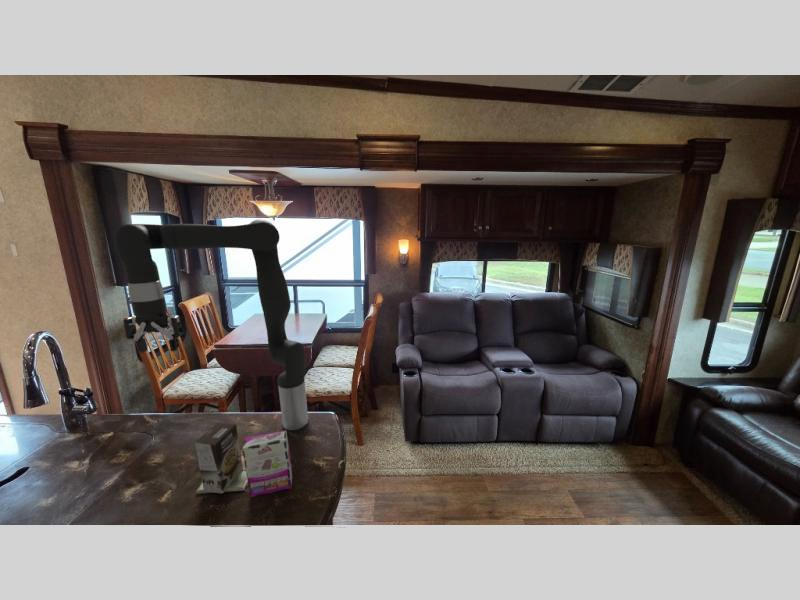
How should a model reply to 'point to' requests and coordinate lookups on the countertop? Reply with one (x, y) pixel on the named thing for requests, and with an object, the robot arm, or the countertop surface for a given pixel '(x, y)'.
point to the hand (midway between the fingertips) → (159, 350)
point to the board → (236, 485)
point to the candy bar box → (267, 463)
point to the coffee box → (219, 457)
